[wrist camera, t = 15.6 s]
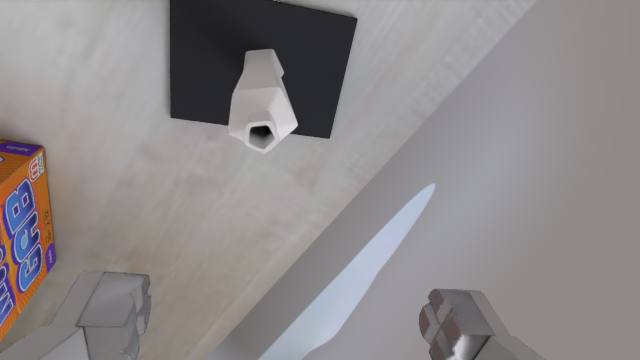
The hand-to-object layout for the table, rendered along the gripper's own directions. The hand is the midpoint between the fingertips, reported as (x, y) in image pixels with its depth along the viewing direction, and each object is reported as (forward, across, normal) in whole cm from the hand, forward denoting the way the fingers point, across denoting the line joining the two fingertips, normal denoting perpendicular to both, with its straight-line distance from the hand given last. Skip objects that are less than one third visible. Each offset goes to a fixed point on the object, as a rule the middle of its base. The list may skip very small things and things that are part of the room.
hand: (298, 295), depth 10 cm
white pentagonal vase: (+28, +2, +1) cm, 28 cm away
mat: (+28, +2, +1) cm, 28 cm away
